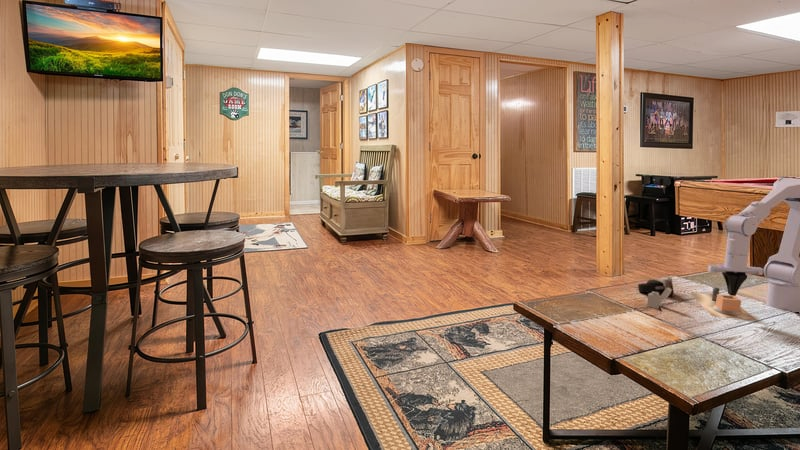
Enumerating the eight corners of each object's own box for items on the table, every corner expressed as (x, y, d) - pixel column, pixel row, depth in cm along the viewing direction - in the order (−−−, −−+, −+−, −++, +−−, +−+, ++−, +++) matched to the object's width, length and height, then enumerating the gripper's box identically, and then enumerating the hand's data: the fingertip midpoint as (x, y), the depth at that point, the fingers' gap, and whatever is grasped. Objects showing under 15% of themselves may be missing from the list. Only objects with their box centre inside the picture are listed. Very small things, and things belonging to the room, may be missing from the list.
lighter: (646, 305, 155) (648, 283, 154) (649, 304, 156) (651, 282, 155) (667, 312, 149) (669, 289, 148) (670, 311, 150) (672, 288, 149)
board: (726, 298, 162) (728, 283, 161) (756, 322, 139) (759, 306, 139) (688, 295, 166) (690, 281, 165) (712, 318, 143) (714, 302, 142)
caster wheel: (637, 296, 174) (667, 294, 171) (644, 299, 163) (676, 297, 160) (635, 278, 174) (665, 276, 171) (641, 280, 163) (673, 278, 160)
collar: (733, 307, 148) (734, 295, 148) (739, 312, 144) (741, 300, 143) (715, 305, 150) (717, 294, 149) (721, 310, 145) (722, 299, 144)
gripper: (756, 251, 144) (751, 292, 146) (705, 249, 147) (701, 289, 149) (768, 256, 137) (763, 299, 139) (715, 254, 140) (710, 296, 142)
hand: (731, 294), depth 144 cm, fingers closed
